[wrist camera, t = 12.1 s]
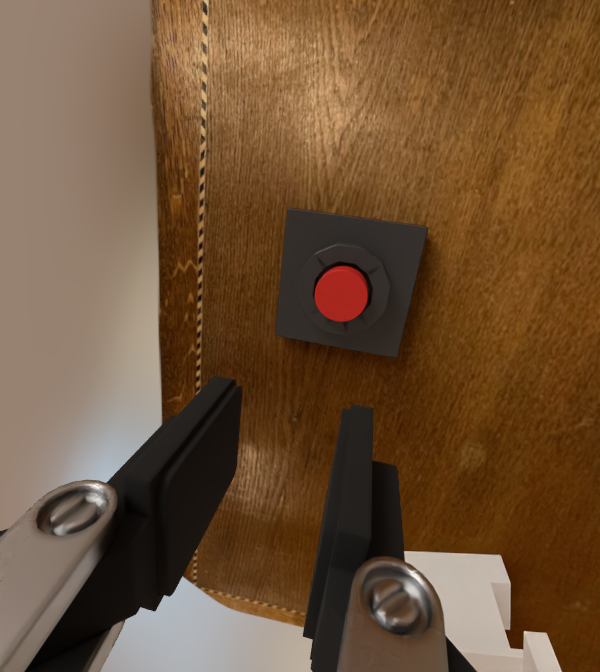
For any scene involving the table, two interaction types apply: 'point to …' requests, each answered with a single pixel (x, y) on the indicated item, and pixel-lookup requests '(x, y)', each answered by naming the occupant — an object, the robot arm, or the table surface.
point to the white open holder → (481, 612)
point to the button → (341, 293)
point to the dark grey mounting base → (357, 252)
